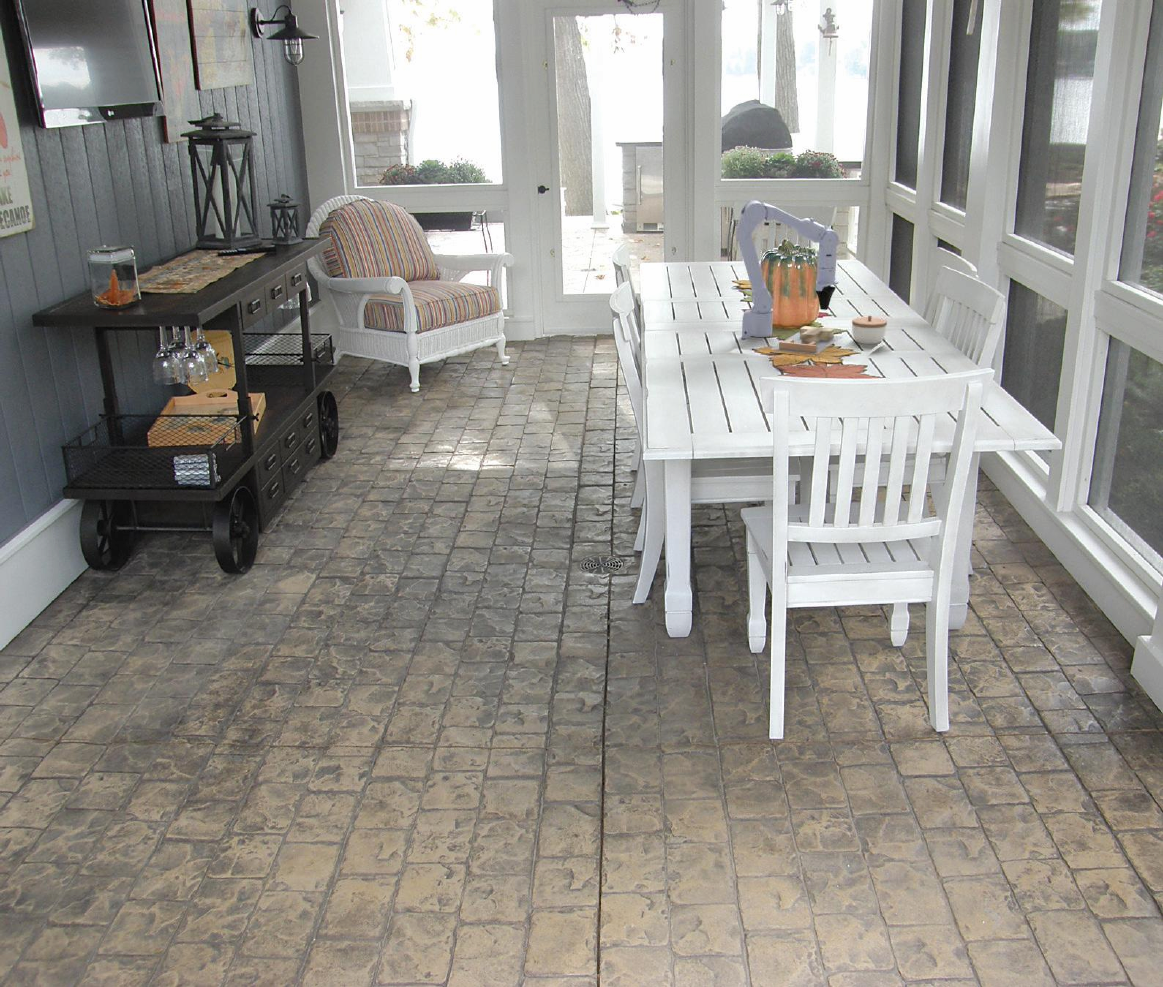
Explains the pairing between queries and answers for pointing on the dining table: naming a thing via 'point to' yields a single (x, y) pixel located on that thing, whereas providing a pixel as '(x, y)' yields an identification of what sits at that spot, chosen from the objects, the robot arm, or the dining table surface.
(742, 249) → the robot arm
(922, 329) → the dining table surface
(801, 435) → the dining table surface
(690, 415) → the dining table surface
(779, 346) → the board
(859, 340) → the lidded jar
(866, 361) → the dining table surface
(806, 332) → the t block
